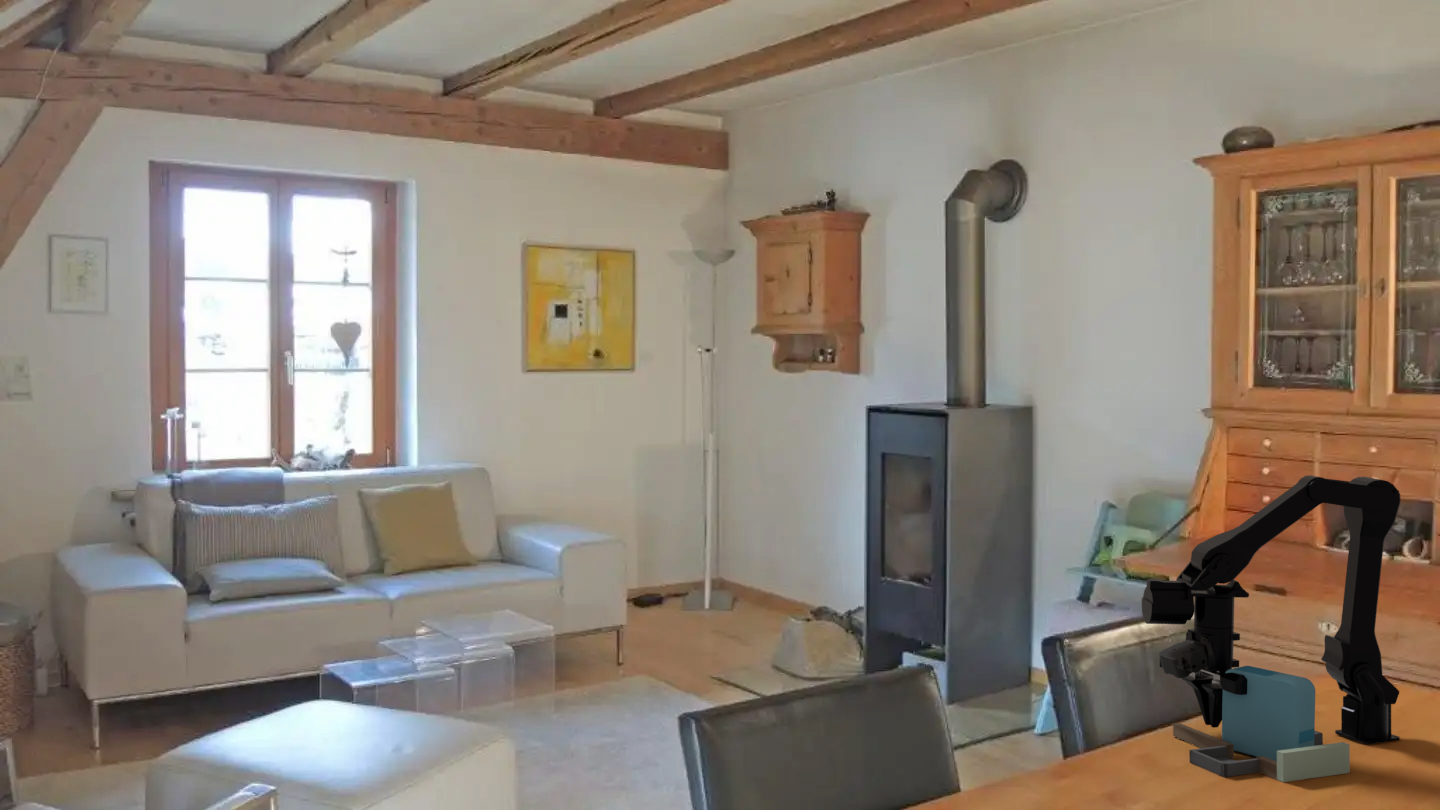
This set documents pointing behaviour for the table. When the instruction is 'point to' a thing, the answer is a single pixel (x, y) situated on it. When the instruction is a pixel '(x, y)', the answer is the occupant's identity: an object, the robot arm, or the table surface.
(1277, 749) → the blue rounded slab
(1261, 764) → the lane rails
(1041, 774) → the table surface
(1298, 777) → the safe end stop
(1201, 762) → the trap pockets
